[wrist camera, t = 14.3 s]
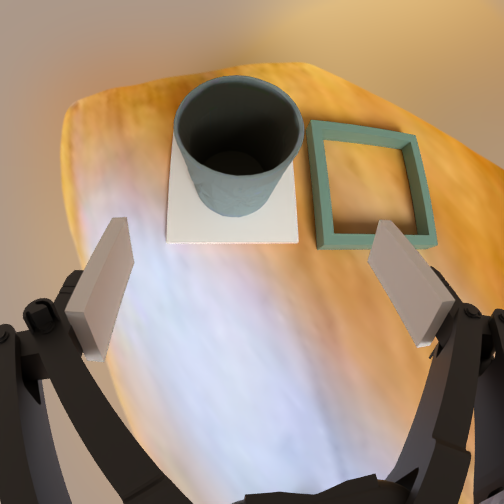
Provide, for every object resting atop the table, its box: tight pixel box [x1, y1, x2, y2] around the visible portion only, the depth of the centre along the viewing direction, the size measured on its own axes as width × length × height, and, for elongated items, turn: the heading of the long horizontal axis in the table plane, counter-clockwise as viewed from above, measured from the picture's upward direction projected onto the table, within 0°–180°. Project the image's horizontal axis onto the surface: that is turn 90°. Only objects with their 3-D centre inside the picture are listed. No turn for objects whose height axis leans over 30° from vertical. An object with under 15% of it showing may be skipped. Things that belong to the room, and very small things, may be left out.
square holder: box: [306, 120, 438, 250], centre depth 36 cm, size 15×15×2 cm
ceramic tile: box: [166, 132, 299, 244], centre depth 35 cm, size 14×14×1 cm
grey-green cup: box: [174, 75, 304, 218], centre depth 29 cm, size 10×10×12 cm
